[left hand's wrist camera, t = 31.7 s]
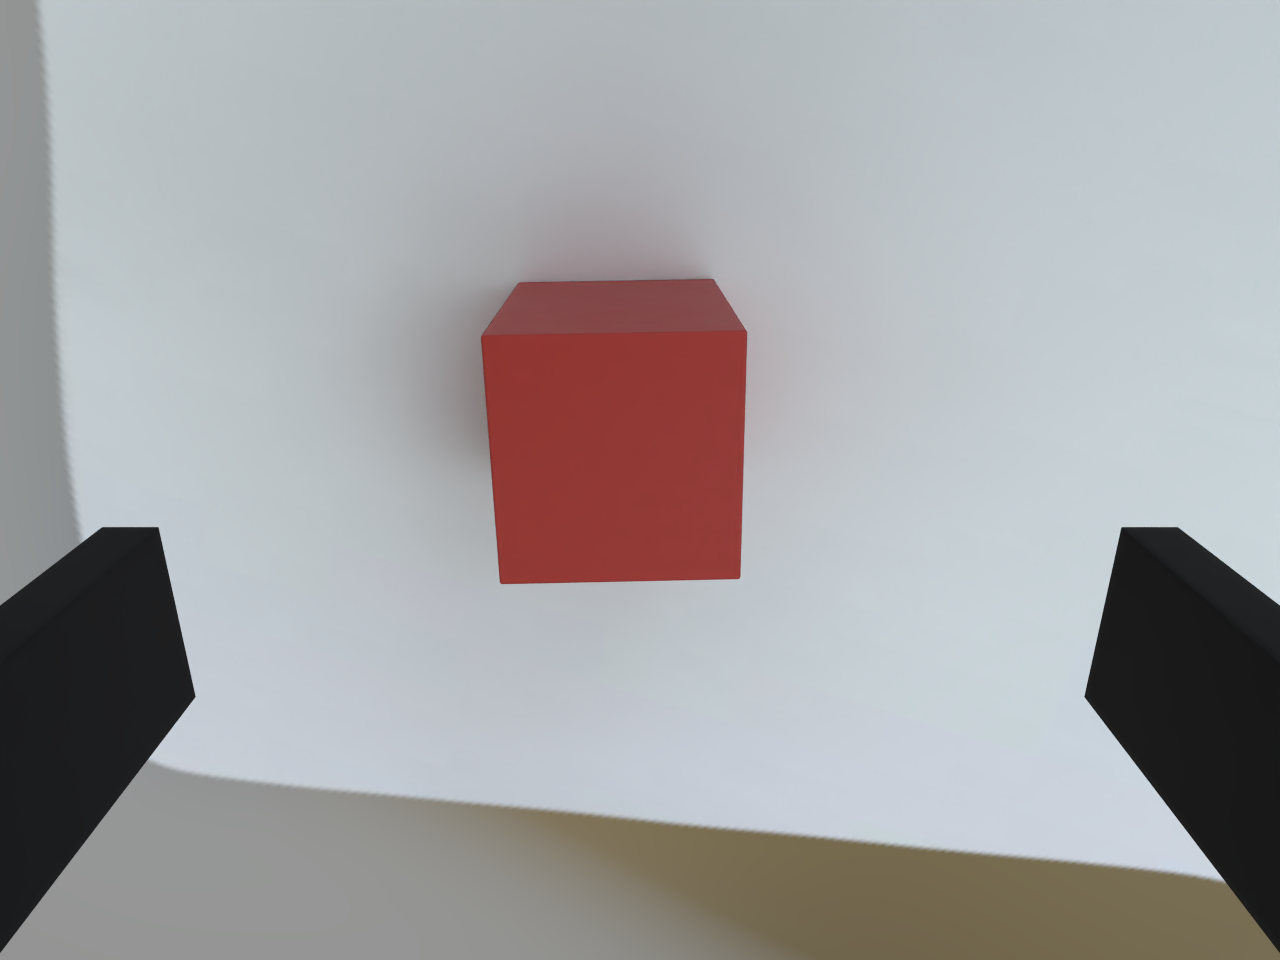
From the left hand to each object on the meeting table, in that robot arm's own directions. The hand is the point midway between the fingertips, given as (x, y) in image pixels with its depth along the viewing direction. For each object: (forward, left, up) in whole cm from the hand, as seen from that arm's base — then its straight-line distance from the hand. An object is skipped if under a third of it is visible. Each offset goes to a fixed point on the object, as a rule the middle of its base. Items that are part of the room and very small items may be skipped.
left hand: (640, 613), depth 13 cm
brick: (0, 0, -14) cm, 14 cm away
